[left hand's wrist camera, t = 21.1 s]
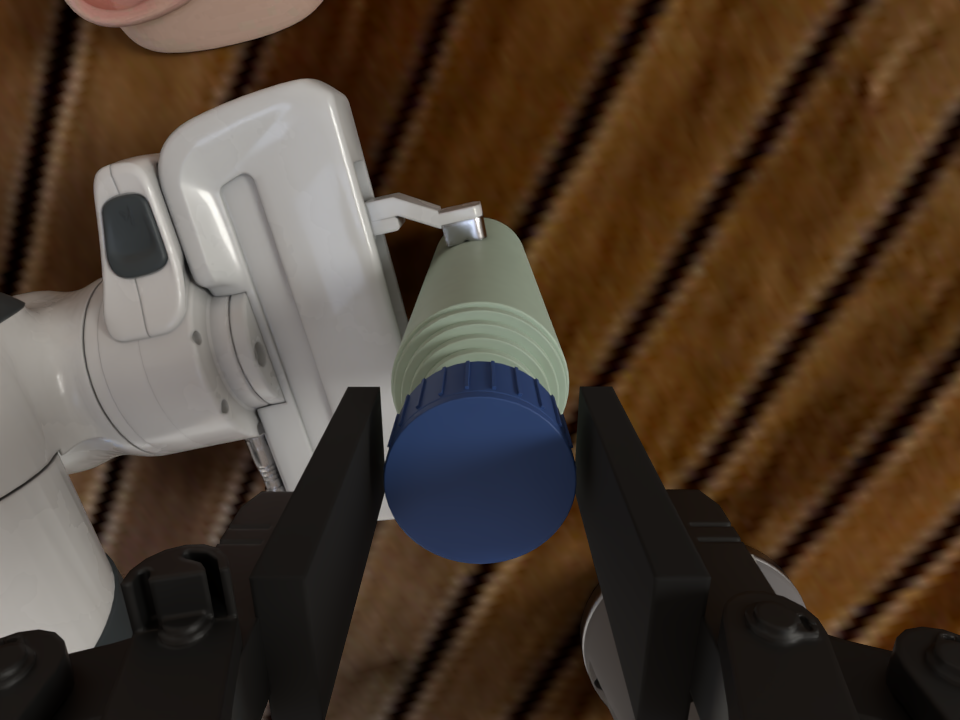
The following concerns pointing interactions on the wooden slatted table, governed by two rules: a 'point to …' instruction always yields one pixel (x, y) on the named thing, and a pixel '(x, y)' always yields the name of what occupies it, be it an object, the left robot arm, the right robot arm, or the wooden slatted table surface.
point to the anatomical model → (193, 20)
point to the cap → (480, 464)
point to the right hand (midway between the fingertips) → (498, 289)
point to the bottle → (480, 317)
